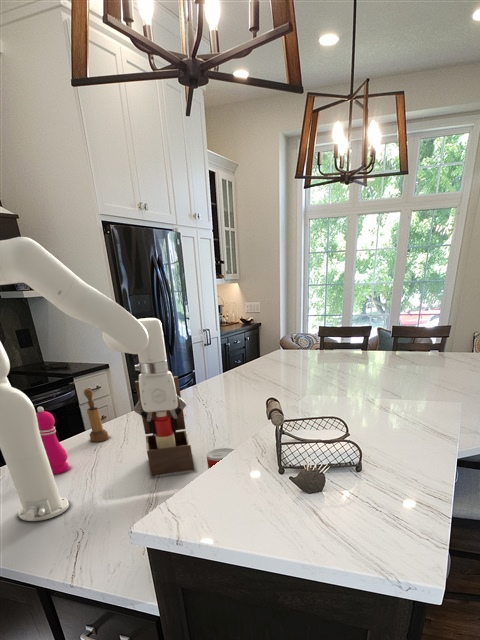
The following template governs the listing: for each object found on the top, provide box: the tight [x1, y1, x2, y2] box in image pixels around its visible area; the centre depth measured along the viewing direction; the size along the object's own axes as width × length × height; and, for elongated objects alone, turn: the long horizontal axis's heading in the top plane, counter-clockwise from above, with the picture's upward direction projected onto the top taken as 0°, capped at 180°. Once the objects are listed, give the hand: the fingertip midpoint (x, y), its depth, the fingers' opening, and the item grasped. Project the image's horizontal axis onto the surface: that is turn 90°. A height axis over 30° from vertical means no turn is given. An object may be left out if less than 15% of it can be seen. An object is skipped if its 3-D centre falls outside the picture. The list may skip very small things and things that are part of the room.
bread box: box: [145, 429, 195, 477], centre depth 145 cm, size 15×13×8 cm
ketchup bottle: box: [153, 411, 176, 449], centre depth 141 cm, size 6×6×14 cm
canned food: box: [206, 447, 235, 470], centre depth 125 cm, size 8×8×11 cm
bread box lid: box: [134, 376, 186, 435], centre depth 146 cm, size 16×13×5 cm
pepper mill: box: [36, 406, 70, 475], centre depth 145 cm, size 7×7×20 cm
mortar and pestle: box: [83, 388, 110, 443], centre depth 170 cm, size 7×6×18 cm
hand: (164, 431), depth 141 cm, fingers closed on ketchup bottle, 5 cm apart
